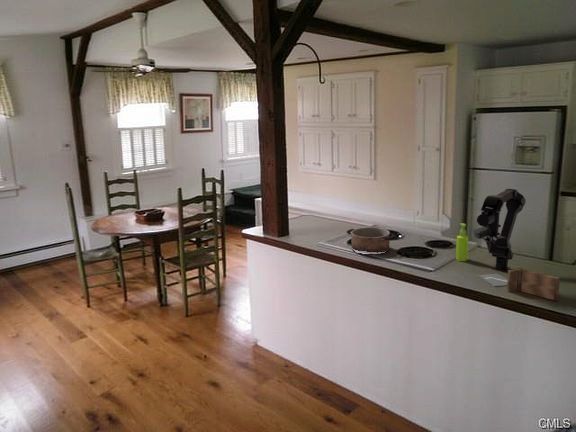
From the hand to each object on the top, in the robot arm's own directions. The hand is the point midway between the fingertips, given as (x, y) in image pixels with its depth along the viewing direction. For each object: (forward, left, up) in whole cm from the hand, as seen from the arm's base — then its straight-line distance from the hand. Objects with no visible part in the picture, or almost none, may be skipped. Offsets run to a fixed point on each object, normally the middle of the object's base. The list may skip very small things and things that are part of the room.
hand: (490, 253), depth 221 cm
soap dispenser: (-14, -22, -12) cm, 29 cm away
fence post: (+10, +16, -12) cm, 22 cm away
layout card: (+3, +5, -12) cm, 13 cm away
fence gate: (+8, +26, -12) cm, 30 cm away
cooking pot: (+5, -70, -12) cm, 71 cm away
